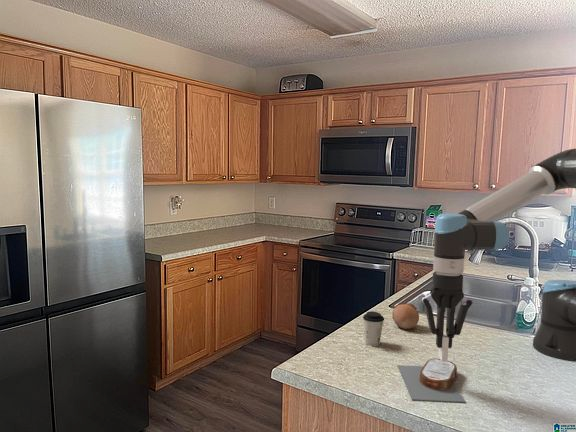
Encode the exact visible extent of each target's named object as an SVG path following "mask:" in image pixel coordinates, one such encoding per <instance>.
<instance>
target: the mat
mask: <svg viewBox="0 0 576 432" xmlns="http://www.w3.org/2000/svg"><path fill="white" fill-rule="evenodd" d="M423 367H424V365H403V364H402V365H401V364H397V369H398V370H399V373H400V376H401V377H402V380H403V383H404V385H405V386H406V387H405V388H406V390H407V392H408V393H409V396H410V399H411V401H416V402H417V401H419V402H420V401H422V402H439V403H442V402H443V403H463V404H466V401H465V399H464V398H463V396H462V394H461V393H460V391H459V390H458V388H457V387H456V385H455V383H453V385H452V387H451V388H450V389H447V390H434V389H430V388H428V387H425V386H424V385H422V384H421V383H420V381H419V378H420V371H421V369H422V368H423Z"/></svg>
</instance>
